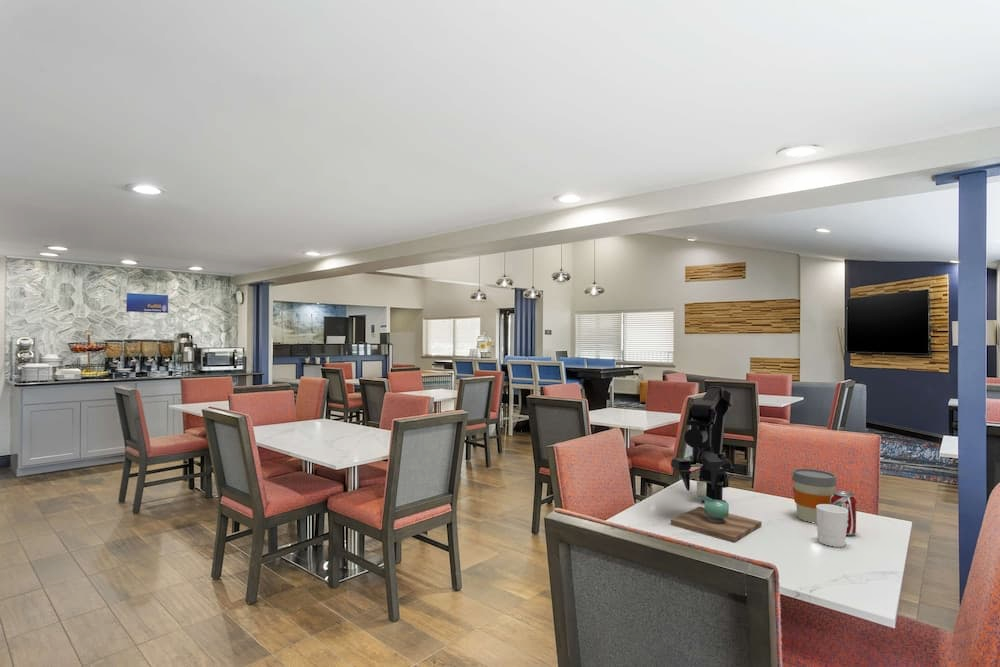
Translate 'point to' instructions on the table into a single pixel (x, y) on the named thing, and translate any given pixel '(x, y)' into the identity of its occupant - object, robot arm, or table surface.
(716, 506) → the teal bulbous piece
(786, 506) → the table surface
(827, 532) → the white cup
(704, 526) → the brown wooden cutting board
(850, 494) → the soda can
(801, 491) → the reusable coffee cup
